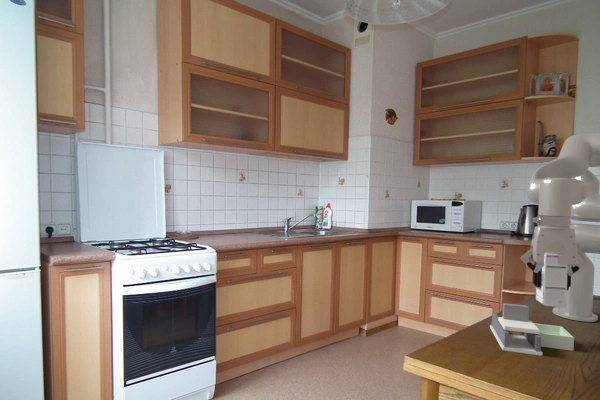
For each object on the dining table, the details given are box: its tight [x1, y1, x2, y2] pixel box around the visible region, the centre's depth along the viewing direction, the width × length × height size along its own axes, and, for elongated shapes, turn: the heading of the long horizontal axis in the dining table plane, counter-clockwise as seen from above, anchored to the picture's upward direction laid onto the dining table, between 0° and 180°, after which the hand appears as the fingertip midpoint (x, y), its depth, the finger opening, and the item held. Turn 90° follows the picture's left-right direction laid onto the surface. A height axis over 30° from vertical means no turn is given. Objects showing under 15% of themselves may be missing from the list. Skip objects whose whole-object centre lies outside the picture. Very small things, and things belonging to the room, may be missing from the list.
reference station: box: [489, 312, 543, 356], centre depth 106 cm, size 18×9×5 cm, turn 163°
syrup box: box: [535, 253, 567, 308], centre depth 105 cm, size 6×6×14 cm
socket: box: [533, 322, 575, 352], centre depth 105 cm, size 9×9×4 cm
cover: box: [498, 302, 540, 334], centre depth 102 cm, size 8×8×5 cm
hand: (550, 287), depth 105 cm, fingers closed on syrup box, 6 cm apart
